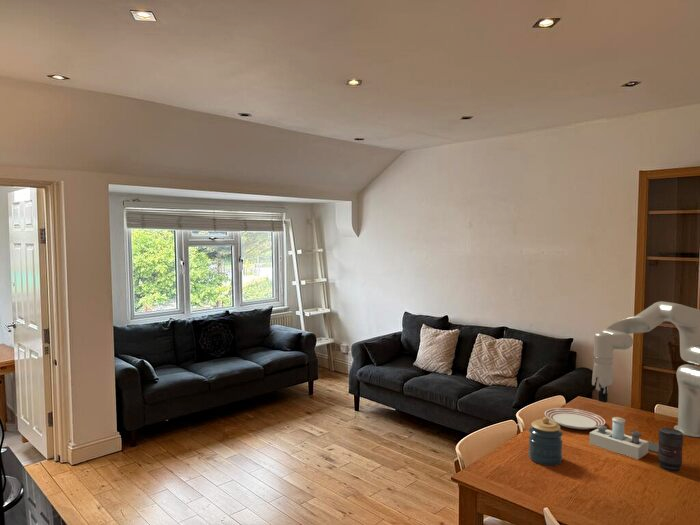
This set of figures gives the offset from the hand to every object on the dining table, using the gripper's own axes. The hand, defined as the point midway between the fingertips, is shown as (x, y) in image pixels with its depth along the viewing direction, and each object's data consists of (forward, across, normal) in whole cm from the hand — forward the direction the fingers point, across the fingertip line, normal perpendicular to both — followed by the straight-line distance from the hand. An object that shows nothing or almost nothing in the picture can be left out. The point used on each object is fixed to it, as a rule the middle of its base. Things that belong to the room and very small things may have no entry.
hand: (602, 401), depth 215 cm
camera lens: (+19, +3, +28) cm, 34 cm away
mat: (+19, -12, +15) cm, 27 cm away
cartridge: (+19, 0, +7) cm, 20 cm away
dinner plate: (+19, -14, -20) cm, 31 cm away
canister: (+19, +34, -7) cm, 40 cm away
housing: (+19, 0, +7) cm, 20 cm away
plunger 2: (+16, 0, +14) cm, 21 cm away
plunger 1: (+18, 0, 0) cm, 18 cm away
